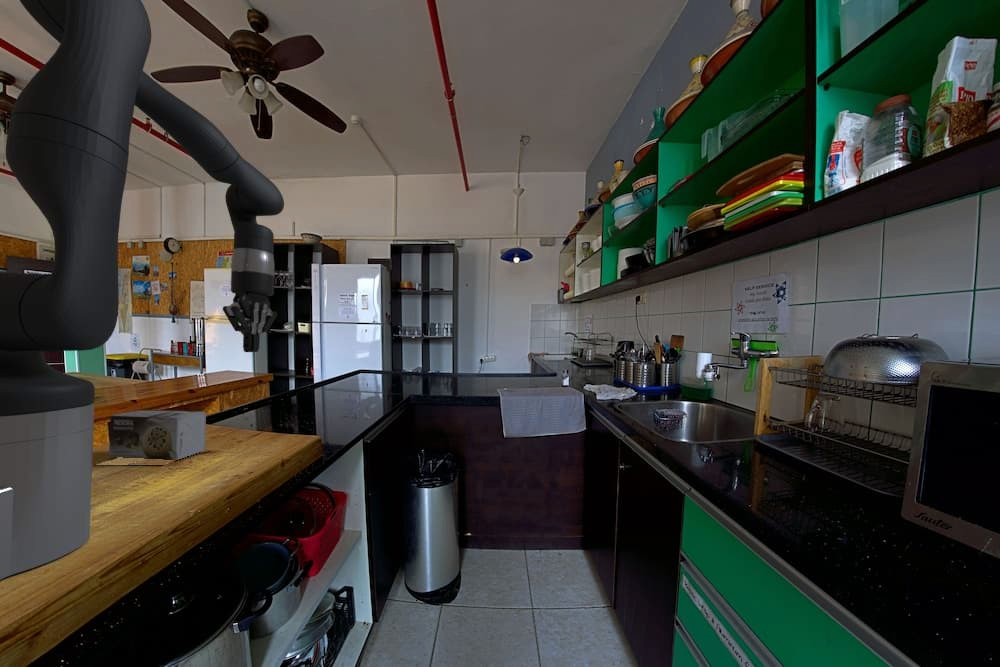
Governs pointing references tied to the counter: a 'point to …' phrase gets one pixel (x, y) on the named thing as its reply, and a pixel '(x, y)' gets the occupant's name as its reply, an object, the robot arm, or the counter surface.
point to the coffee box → (157, 434)
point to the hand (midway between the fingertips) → (251, 351)
